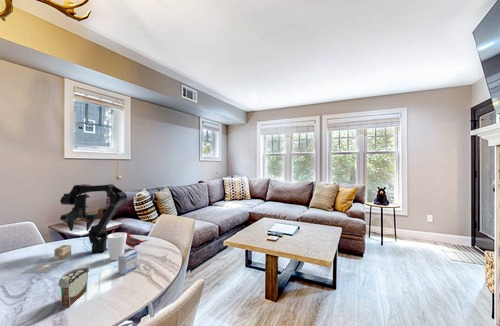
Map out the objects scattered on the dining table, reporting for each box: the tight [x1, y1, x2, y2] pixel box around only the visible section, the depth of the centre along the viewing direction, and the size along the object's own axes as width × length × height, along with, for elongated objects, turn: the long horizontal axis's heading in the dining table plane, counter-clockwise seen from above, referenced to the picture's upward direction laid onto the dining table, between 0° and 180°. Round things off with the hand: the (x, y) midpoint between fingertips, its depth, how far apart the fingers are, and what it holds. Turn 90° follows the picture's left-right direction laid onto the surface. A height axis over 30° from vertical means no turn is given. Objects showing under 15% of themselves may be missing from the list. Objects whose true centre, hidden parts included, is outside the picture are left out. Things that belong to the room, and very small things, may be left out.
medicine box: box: [117, 249, 138, 275], centre depth 109 cm, size 8×4×9 cm, turn 168°
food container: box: [57, 266, 90, 308], centre depth 85 cm, size 12×6×10 cm, turn 5°
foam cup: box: [107, 232, 127, 262], centre depth 123 cm, size 10×9×13 cm
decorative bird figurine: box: [125, 232, 148, 249], centre depth 136 cm, size 3×18×10 cm, turn 82°
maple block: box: [53, 244, 72, 261], centre depth 122 cm, size 4×6×6 cm
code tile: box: [21, 261, 66, 274], centre depth 110 cm, size 12×12×1 cm
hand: (79, 230), depth 133 cm, fingers open, 9 cm apart
